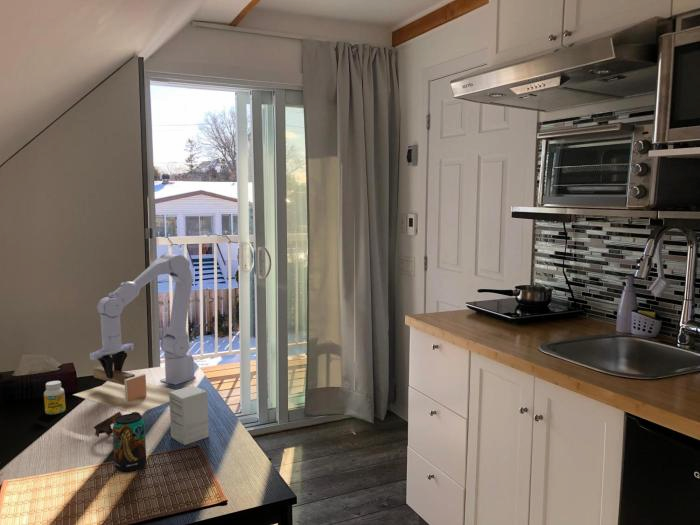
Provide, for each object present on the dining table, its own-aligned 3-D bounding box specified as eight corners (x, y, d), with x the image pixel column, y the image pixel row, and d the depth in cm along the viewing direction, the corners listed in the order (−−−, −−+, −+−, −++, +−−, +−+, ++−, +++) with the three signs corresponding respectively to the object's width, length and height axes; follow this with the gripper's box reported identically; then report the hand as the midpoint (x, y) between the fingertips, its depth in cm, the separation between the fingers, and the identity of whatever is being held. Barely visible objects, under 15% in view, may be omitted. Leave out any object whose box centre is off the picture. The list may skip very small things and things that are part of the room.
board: (126, 380, 200) (126, 377, 199) (190, 396, 183) (190, 393, 182) (72, 397, 183) (72, 394, 183) (137, 417, 166) (137, 413, 166)
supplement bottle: (64, 409, 172) (62, 378, 171) (67, 415, 168) (64, 383, 167) (44, 413, 169) (42, 382, 168) (46, 419, 165) (44, 386, 164)
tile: (144, 395, 181) (143, 373, 181) (147, 395, 181) (145, 374, 180) (125, 401, 176) (124, 379, 175) (127, 402, 175) (126, 380, 174)
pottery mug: (112, 453, 143) (96, 424, 144) (101, 458, 150) (85, 431, 150) (153, 427, 152) (138, 400, 152) (141, 432, 159) (126, 406, 159)
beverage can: (115, 476, 130) (112, 425, 129) (114, 463, 137) (111, 415, 135) (147, 470, 133) (145, 420, 132) (145, 458, 139) (143, 410, 138)
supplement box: (195, 429, 156) (193, 384, 155) (209, 437, 151) (207, 391, 150) (170, 437, 151) (168, 391, 150) (184, 446, 146) (182, 398, 145)
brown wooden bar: (100, 375, 189) (99, 366, 189) (135, 384, 180) (134, 374, 179) (93, 377, 187) (93, 367, 187) (128, 386, 178) (128, 376, 177)
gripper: (123, 329, 190) (125, 368, 192) (82, 338, 178) (85, 380, 179) (136, 331, 186) (139, 372, 188) (96, 341, 174) (99, 384, 176)
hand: (113, 376), depth 183 cm, fingers closed on brown wooden bar, 2 cm apart
